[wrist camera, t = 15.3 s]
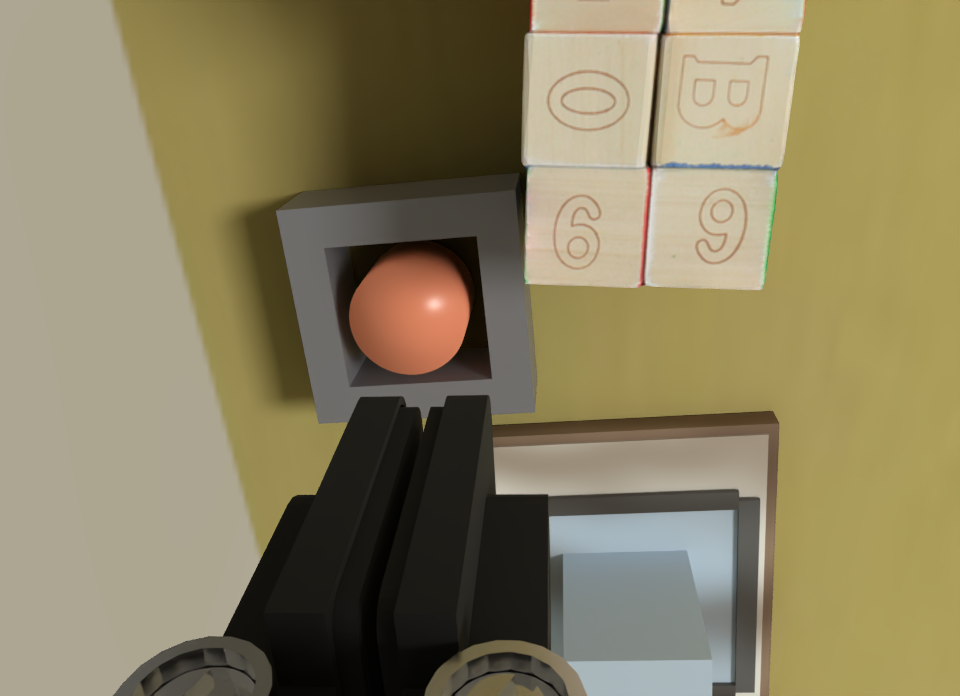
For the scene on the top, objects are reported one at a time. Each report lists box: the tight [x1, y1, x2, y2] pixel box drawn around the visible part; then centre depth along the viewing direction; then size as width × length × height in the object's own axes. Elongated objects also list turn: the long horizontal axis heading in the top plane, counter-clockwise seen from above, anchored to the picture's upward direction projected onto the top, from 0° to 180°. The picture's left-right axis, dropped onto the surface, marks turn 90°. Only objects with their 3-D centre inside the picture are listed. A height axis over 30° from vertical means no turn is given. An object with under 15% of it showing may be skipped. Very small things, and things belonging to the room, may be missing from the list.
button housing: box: [276, 173, 537, 424], centre depth 29 cm, size 8×8×3 cm
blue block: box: [563, 550, 712, 696], centre depth 31 cm, size 5×5×6 cm
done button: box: [349, 240, 474, 375], centre depth 29 cm, size 4×4×3 cm
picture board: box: [492, 411, 779, 696], centre depth 35 cm, size 16×12×1 cm
